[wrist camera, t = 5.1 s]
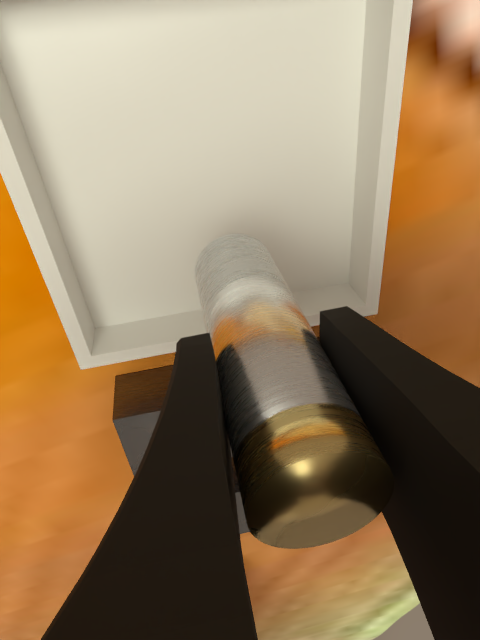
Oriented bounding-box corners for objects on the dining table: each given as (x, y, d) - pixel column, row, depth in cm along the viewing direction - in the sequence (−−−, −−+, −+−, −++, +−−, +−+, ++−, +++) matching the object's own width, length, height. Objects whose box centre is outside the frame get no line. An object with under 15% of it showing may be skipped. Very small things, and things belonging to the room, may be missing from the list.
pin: (269, 227, 13) (401, 437, 6) (274, 296, 14) (387, 529, 8) (188, 241, 13) (237, 473, 6) (201, 310, 14) (252, 562, 7)
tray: (379, -63, 14) (421, -76, 12) (354, 284, 22) (377, 314, 20) (-45, -20, 13) (-80, -25, 11) (87, 333, 21) (80, 369, 19)
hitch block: (341, 333, 24) (363, 369, 21) (333, 469, 31) (350, 508, 28) (115, 376, 23) (112, 420, 20) (161, 507, 30) (163, 551, 27)
